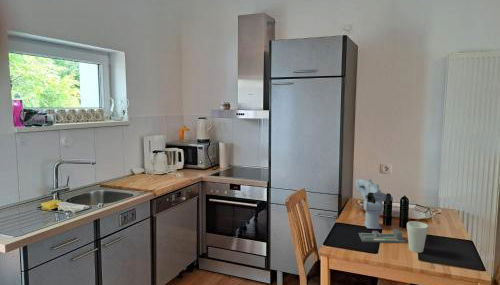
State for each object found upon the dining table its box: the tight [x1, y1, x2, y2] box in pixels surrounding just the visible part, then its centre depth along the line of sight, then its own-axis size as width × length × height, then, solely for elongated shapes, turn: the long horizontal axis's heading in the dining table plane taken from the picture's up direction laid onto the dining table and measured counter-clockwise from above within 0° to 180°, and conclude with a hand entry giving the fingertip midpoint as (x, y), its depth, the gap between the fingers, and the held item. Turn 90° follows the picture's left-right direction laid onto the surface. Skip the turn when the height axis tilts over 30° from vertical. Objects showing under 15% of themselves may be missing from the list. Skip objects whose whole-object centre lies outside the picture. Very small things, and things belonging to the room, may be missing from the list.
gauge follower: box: [371, 230, 380, 237], centre depth 185 cm, size 6×3×2 cm, turn 175°
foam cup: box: [406, 220, 429, 254], centre depth 171 cm, size 10×9×13 cm
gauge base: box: [358, 228, 407, 244], centre depth 186 cm, size 10×22×4 cm, turn 85°
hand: (382, 202), depth 182 cm, fingers open, 7 cm apart
